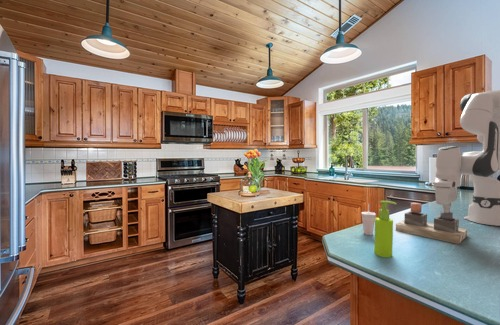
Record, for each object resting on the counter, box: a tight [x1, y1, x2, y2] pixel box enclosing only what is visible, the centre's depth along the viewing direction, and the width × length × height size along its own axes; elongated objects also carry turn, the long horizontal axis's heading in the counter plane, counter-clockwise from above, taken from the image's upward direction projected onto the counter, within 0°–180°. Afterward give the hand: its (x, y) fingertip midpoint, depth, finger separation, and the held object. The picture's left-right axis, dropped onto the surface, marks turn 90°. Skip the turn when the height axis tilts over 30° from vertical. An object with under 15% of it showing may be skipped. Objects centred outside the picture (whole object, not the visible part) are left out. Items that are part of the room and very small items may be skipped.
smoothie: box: [360, 203, 377, 236], centre depth 115 cm, size 6×6×14 cm
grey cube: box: [439, 210, 454, 221], centre depth 112 cm, size 4×4×4 cm
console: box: [395, 210, 468, 245], centre depth 117 cm, size 16×24×8 cm, turn 39°
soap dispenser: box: [373, 200, 397, 258], centre depth 91 cm, size 6×7×20 cm
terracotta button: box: [410, 202, 423, 213], centre depth 121 cm, size 4×4×4 cm
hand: (446, 212), depth 112 cm, fingers closed, pressing on grey cube
